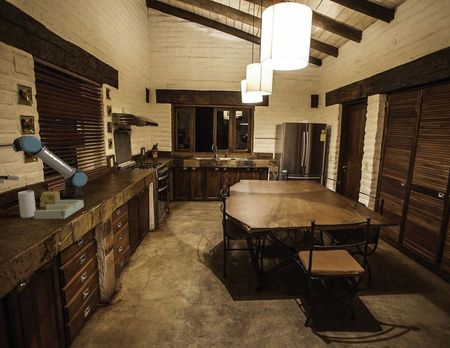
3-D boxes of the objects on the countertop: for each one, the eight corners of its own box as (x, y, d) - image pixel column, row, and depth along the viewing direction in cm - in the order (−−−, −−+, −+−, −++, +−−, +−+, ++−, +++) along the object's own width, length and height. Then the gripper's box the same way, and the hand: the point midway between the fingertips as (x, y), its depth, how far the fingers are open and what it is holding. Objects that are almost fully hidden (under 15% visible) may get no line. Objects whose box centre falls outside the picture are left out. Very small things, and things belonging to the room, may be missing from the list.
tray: (34, 219, 163) (33, 210, 162) (58, 206, 190) (57, 199, 190) (64, 218, 165) (63, 209, 164) (83, 206, 192) (83, 198, 191)
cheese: (40, 207, 188) (38, 194, 186) (45, 203, 198) (44, 191, 197) (56, 206, 191) (55, 193, 189) (61, 203, 201) (60, 190, 199)
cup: (34, 212, 176) (31, 190, 173) (37, 215, 170) (35, 191, 168) (19, 215, 169) (16, 192, 167) (22, 218, 164) (19, 194, 162)
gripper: (-10, 181, 176) (24, 182, 179) (-43, 187, 152) (-3, 188, 154) (-10, 170, 175) (24, 172, 178) (-43, 174, 151) (-3, 176, 154)
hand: (11, 179), depth 166 cm, fingers open, 13 cm apart
